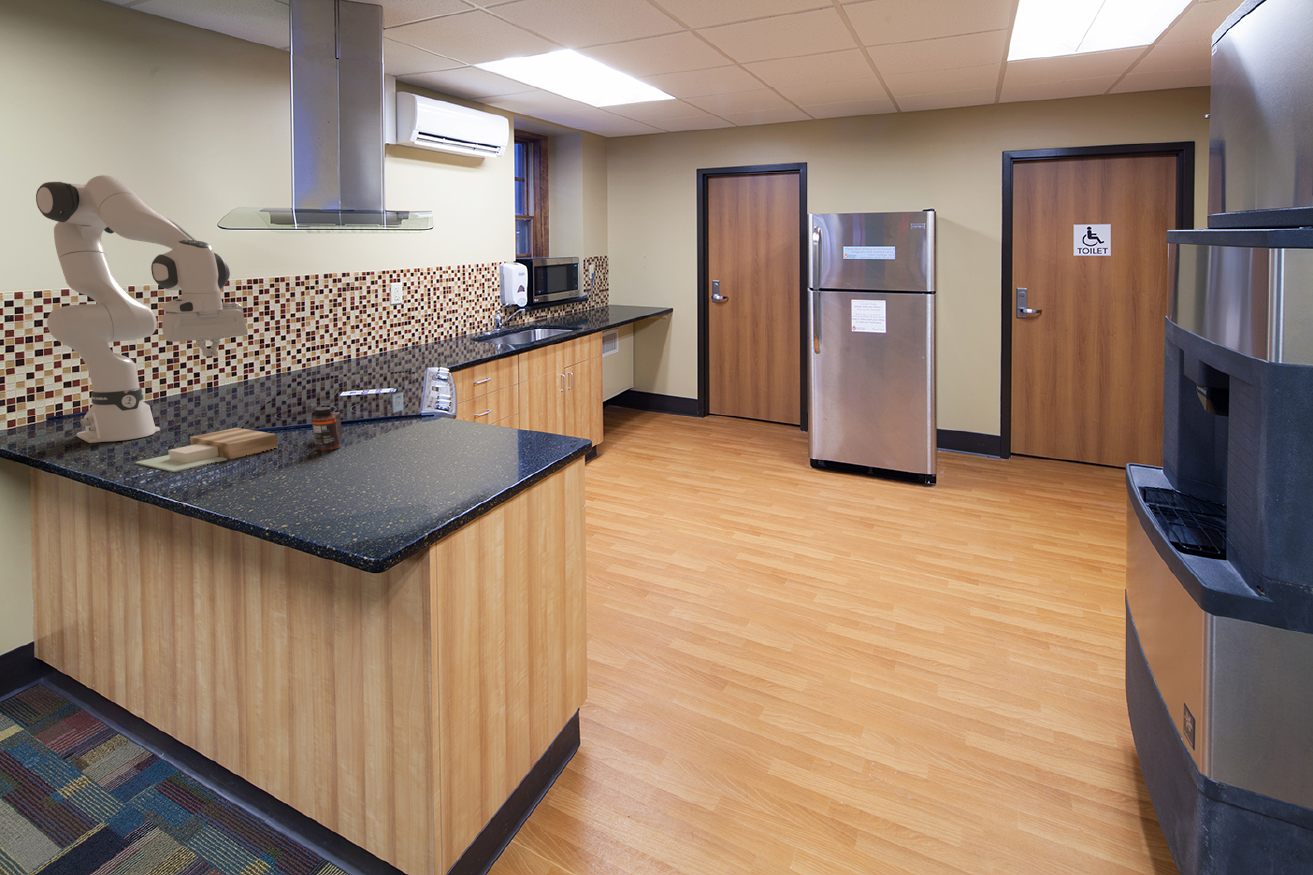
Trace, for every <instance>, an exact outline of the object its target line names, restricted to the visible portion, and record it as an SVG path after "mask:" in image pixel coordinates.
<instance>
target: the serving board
mask: <svg viewBox="0 0 1313 875" xmlns="http://www.w3.org/2000/svg"><path fill="white" fill-rule="evenodd" d="M277 440H278V439H277V433H271V432H265V431H259V430H254V429H253V430H252V429H246V428H241V427H234V428H229V429H225V430H219V431H213V432H208V433H203V434H199V435H193V436H189V441H190V445H195V444H205V445H211V446H216V447H218V454H219V456H217V457H222V458H227V460H233V459H238V458H241V457H242V458H243V457H246V455H247V456H250V455H254V453H255V454H258V453H263V452H262V451H264V452H267V451H266V450H268V451H271V450H270V449H272V450H275V449H274V448H277V449H278V448H279V447H278V446H279V445H278V441H277Z"/></svg>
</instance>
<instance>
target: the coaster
mask: <svg viewBox="0 0 1313 875" xmlns="http://www.w3.org/2000/svg"><path fill="white" fill-rule="evenodd" d="M167 452H168V455H169V458H170V459H172V460H176V461H181V462H186V463H188V462H193V461H197V460H202V459H206V458H210V457H215V456H217V457H218V456H219V454H218V447H216V446H211V445H205V444H195V445H191V444H190V445H186V446H183V447H176V448H172V449H167Z"/></svg>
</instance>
